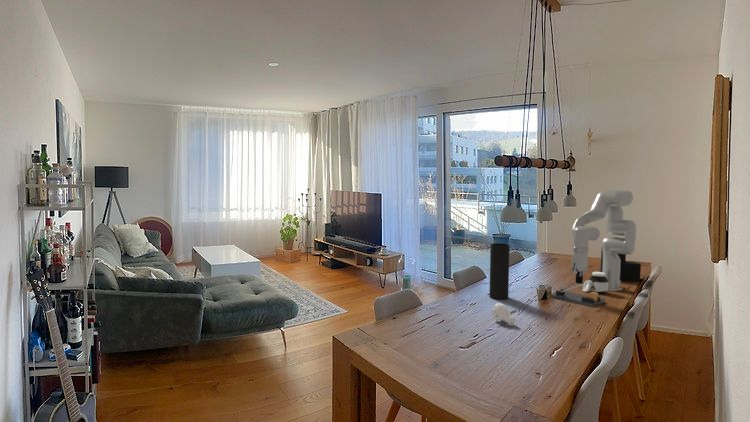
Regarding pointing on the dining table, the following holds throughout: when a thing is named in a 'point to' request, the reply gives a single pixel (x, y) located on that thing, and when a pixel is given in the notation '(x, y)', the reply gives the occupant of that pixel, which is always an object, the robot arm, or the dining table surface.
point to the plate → (577, 298)
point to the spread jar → (596, 283)
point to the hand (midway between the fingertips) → (579, 283)
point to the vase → (499, 271)
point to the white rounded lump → (502, 314)
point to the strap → (571, 288)
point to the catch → (592, 295)
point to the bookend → (626, 269)
